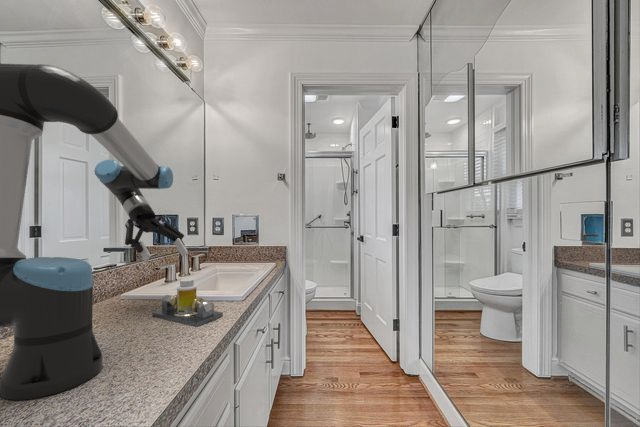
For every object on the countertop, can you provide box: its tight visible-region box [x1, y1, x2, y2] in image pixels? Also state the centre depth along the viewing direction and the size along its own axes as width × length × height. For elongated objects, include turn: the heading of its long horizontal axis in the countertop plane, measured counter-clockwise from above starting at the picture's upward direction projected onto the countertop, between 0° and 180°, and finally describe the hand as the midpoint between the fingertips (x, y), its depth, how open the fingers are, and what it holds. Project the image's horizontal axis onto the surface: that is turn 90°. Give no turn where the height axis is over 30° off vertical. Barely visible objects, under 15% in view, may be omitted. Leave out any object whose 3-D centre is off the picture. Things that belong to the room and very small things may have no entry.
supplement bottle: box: [176, 278, 197, 314], centre depth 96 cm, size 6×6×10 cm
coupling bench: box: [151, 294, 224, 328], centre depth 96 cm, size 10×20×6 cm, turn 64°
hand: (167, 256), depth 100 cm, fingers open, 13 cm apart
